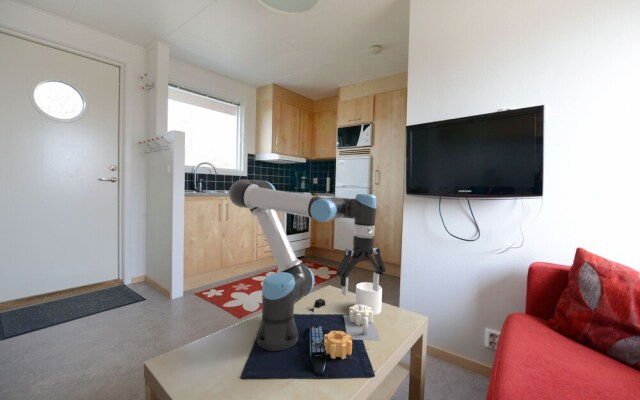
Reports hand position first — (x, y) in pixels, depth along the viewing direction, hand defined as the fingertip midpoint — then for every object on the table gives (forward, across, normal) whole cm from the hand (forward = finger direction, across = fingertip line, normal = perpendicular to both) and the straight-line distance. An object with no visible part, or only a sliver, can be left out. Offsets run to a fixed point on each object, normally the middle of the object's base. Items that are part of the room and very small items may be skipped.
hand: (360, 292), depth 100 cm
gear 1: (+18, -10, -3) cm, 21 cm away
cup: (+18, +17, +17) cm, 31 cm away
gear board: (+18, +5, +5) cm, 20 cm away
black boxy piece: (+20, -2, +29) cm, 35 cm away
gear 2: (+17, +8, +10) cm, 21 cm away
